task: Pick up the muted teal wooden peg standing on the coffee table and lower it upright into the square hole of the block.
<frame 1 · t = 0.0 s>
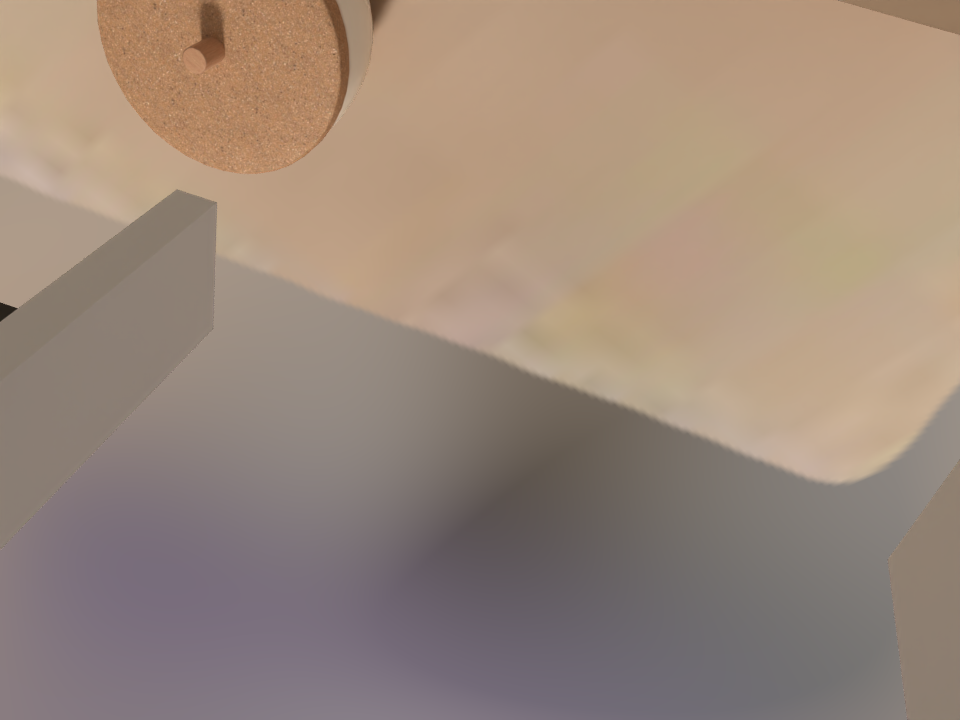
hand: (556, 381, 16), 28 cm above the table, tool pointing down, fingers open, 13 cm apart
lidded jar: (299, 2, 43), on the table
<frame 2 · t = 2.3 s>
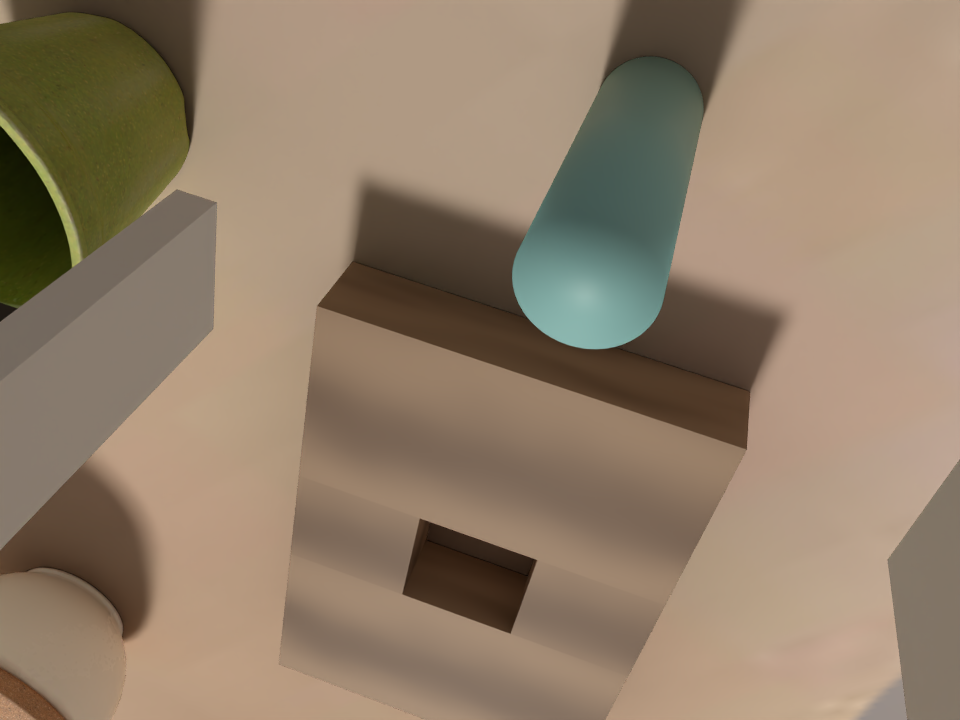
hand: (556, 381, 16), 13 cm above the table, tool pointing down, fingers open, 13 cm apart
hole block: (487, 522, 37), on the table
peg: (648, 110, 26), on the table
plant pot: (114, 101, 31), on the table
lidded jar: (74, 604, 49), on the table
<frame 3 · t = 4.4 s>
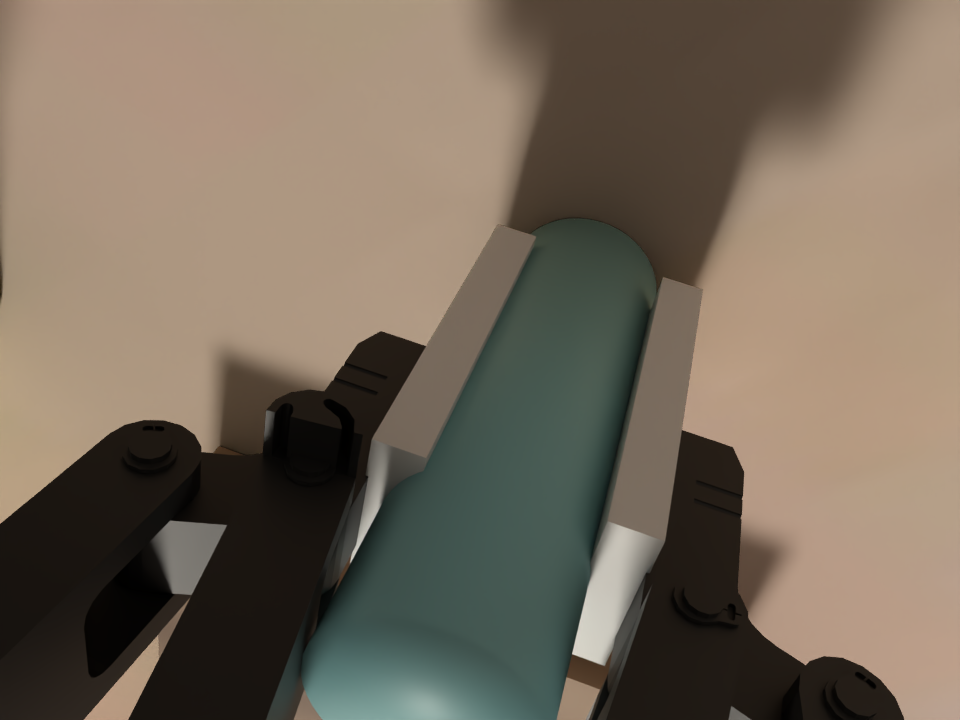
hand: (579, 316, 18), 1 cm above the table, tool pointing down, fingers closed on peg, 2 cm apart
peg: (581, 286, 18), on the table, touching gripper
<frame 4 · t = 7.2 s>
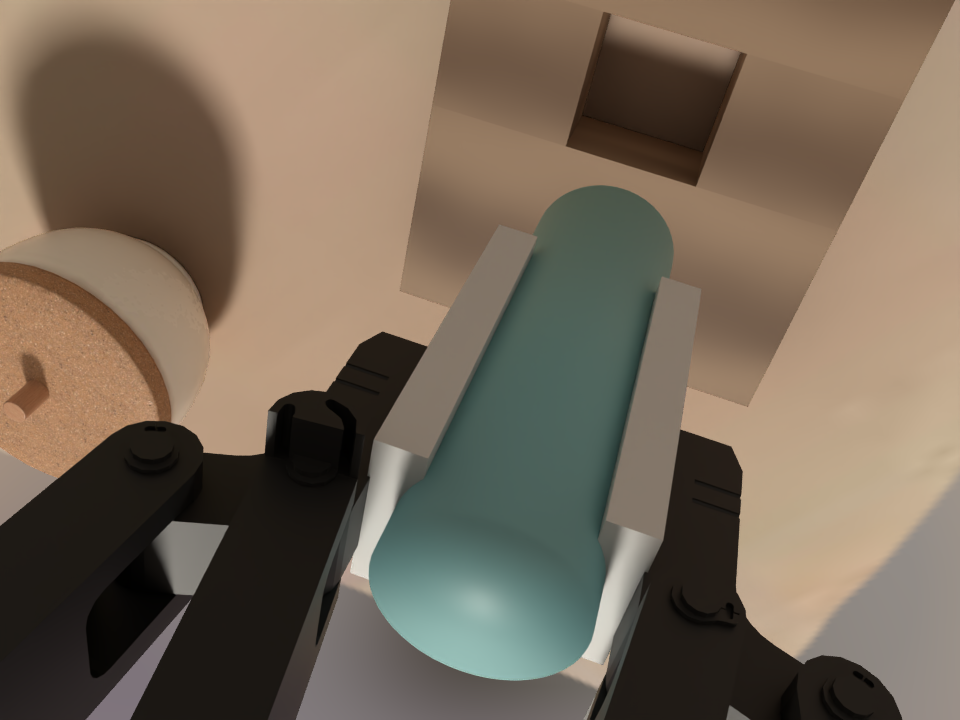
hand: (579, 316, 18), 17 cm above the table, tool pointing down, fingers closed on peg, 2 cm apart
hole block: (662, 73, 31), on the table
peg: (602, 250, 20), point 14 cm above the table, touching gripper
lidded jar: (147, 291, 44), on the table
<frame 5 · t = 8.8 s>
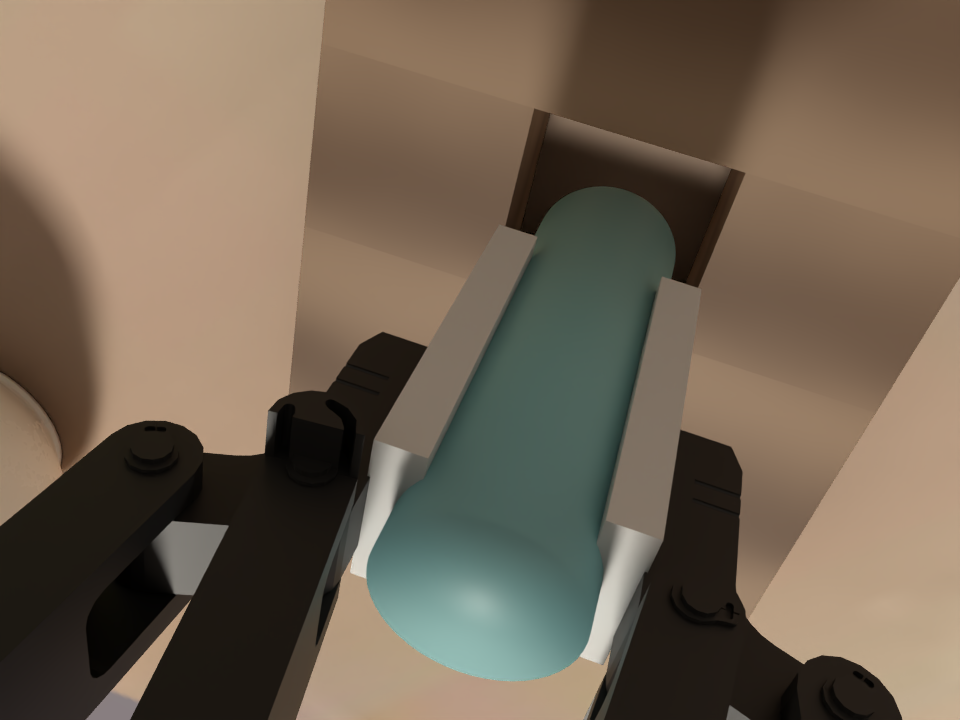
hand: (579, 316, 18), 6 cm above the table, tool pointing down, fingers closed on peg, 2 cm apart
hole block: (627, 180, 22), on the table
peg: (604, 251, 20), point 4 cm above the table, touching gripper
when the fingers open (5 cm above the table, at t = 10.0 s): peg drops 2 cm, resting in hole block.
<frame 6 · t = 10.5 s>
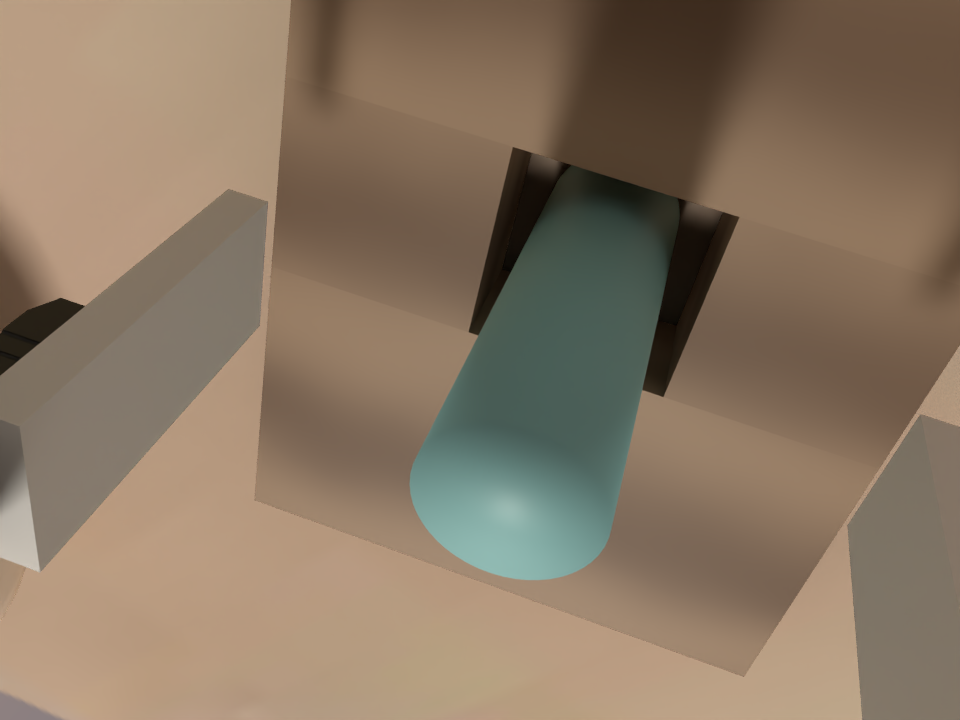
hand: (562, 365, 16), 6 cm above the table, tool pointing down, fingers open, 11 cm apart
hole block: (614, 217, 21), on the table
peg: (613, 213, 21), resting in hole block
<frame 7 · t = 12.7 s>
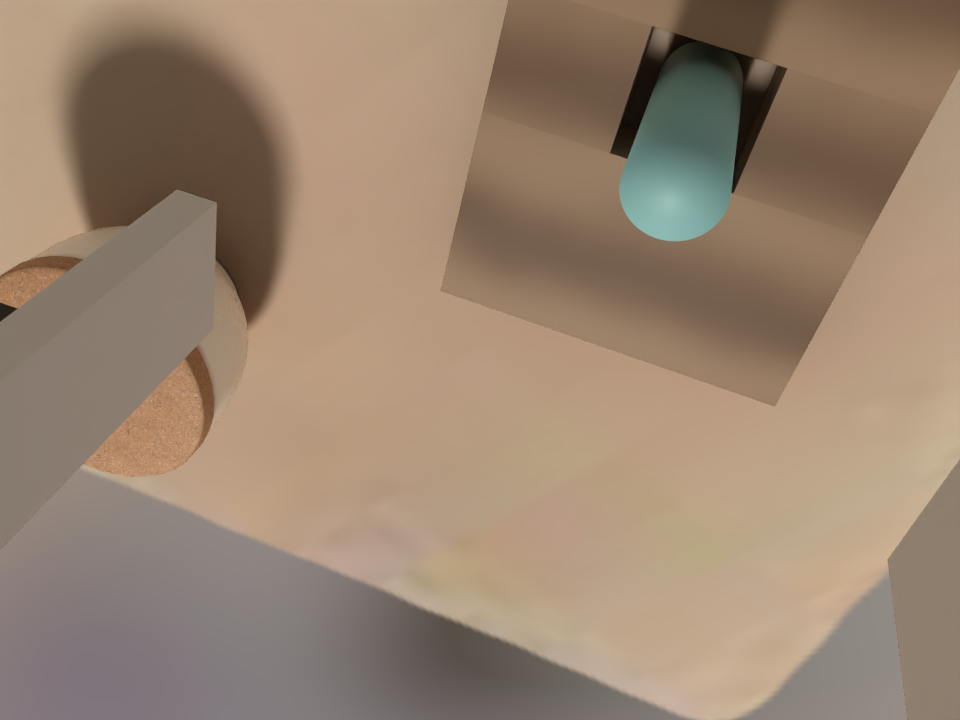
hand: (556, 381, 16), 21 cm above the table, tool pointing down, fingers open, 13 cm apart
hole block: (700, 86, 33), on the table
peg: (700, 83, 33), resting in hole block
lidded jar: (185, 290, 45), on the table
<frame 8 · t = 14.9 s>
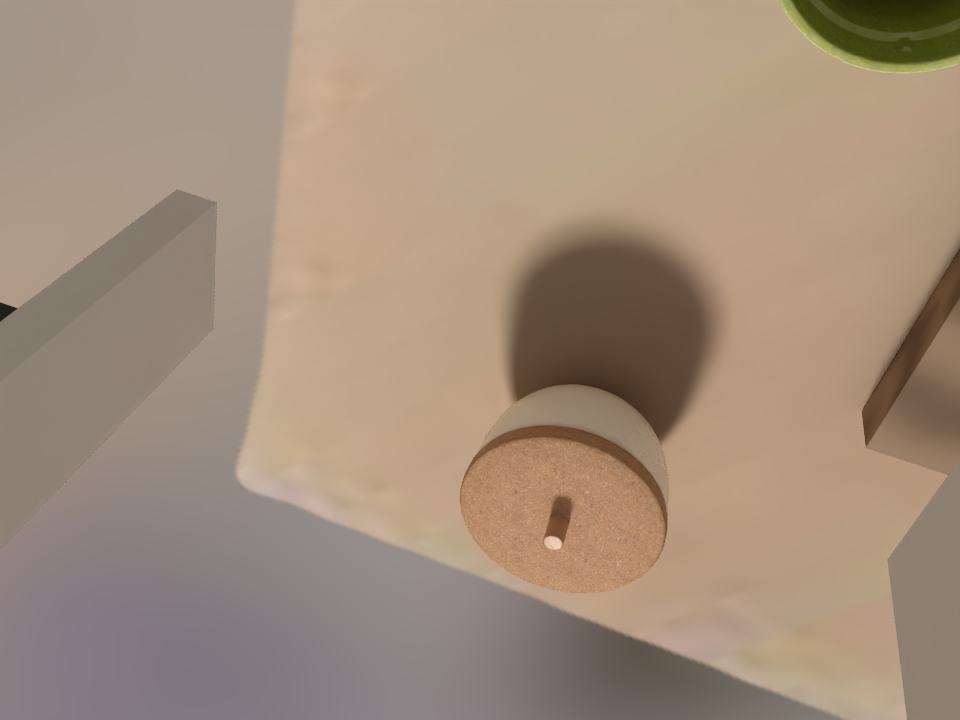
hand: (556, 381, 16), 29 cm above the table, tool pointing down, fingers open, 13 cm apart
lidded jar: (586, 426, 53), on the table
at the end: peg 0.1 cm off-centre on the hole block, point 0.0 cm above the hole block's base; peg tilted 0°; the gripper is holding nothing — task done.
